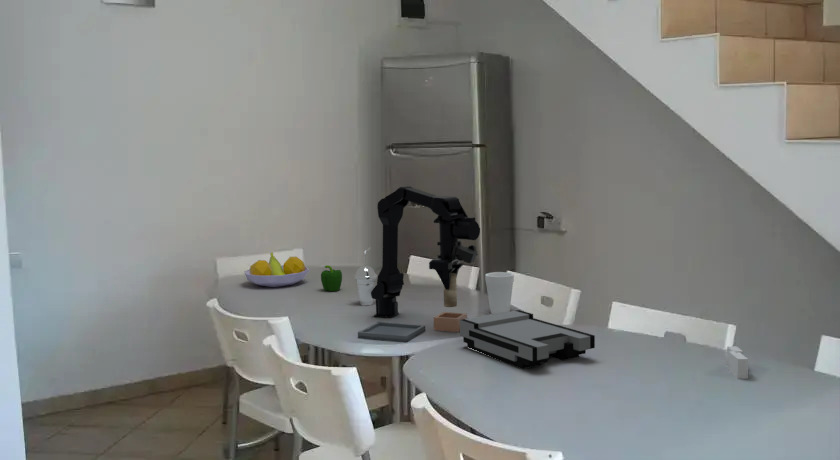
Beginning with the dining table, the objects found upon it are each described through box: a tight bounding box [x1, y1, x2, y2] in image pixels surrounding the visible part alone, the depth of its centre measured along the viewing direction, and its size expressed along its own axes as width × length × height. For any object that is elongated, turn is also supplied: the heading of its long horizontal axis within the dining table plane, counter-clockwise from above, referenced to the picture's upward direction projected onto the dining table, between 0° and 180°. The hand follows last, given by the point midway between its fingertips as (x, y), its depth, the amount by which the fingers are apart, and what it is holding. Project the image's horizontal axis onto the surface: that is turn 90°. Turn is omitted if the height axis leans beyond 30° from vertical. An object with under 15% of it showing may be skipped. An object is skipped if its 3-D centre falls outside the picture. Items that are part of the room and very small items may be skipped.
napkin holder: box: [726, 345, 749, 380], centre depth 199 cm, size 15×11×6 cm
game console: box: [459, 309, 596, 370], centre depth 219 cm, size 21×32×8 cm, turn 31°
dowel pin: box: [443, 273, 458, 308], centre depth 249 cm, size 4×4×10 cm
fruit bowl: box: [243, 252, 310, 288], centre depth 335 cm, size 28×27×11 cm
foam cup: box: [484, 271, 515, 315], centre depth 270 cm, size 10×9×13 cm
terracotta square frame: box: [433, 311, 468, 333], centre depth 250 cm, size 8×8×4 cm
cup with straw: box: [353, 246, 378, 306], centre depth 289 cm, size 8×9×20 cm
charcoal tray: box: [357, 321, 426, 343], centre depth 244 cm, size 16×14×2 cm
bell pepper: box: [320, 265, 343, 292], centre depth 317 cm, size 8×8×10 cm
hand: (449, 288), depth 249 cm, fingers closed on dowel pin, 4 cm apart
